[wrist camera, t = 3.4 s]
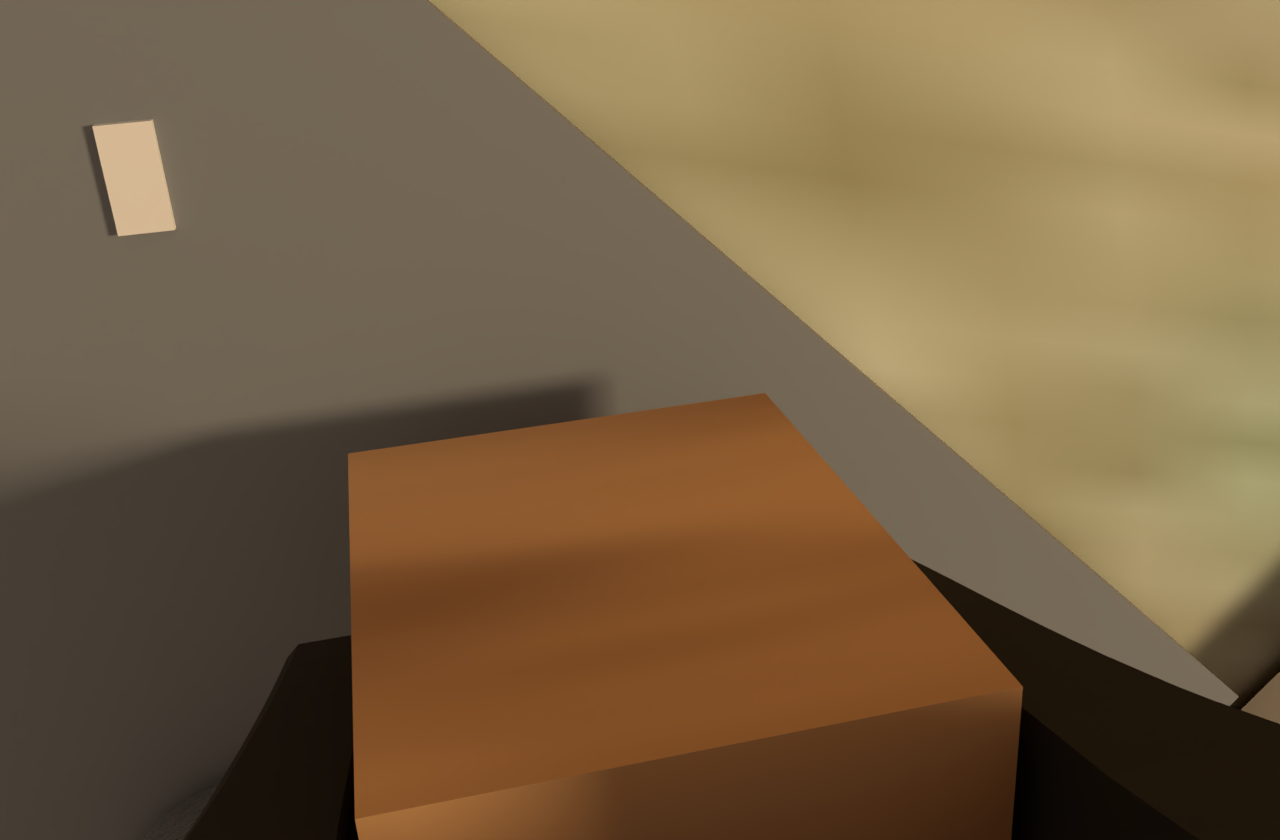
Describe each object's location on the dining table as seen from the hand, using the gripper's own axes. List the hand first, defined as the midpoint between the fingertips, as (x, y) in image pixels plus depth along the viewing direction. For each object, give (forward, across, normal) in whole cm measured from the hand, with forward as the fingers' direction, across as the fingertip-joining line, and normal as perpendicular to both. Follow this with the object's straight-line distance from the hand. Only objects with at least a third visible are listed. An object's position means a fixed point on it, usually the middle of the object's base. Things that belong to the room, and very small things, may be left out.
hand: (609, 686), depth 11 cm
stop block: (+2, 0, 0) cm, 2 cm away
